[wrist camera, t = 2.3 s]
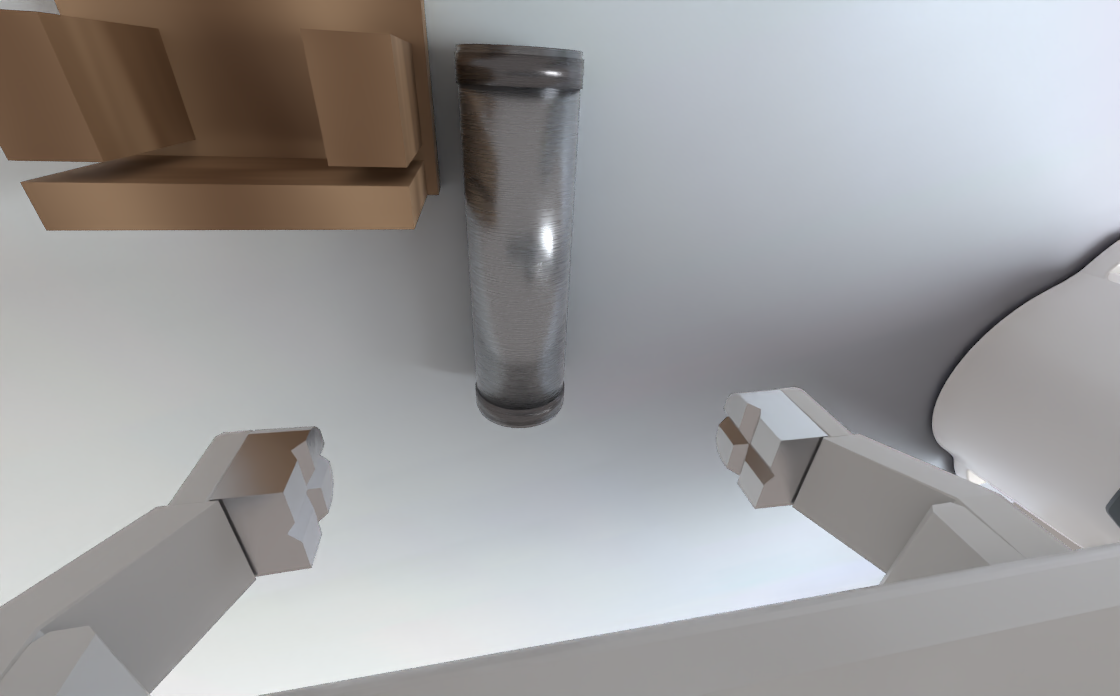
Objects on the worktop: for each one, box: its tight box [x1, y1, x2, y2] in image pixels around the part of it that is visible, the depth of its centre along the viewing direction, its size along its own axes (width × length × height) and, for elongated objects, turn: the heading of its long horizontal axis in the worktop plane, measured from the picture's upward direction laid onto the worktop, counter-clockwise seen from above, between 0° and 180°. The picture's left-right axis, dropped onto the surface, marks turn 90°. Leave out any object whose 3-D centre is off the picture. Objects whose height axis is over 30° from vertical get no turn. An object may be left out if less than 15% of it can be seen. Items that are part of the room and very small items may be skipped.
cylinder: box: [454, 44, 584, 428], centre depth 18 cm, size 4×14×4 cm, turn 178°
